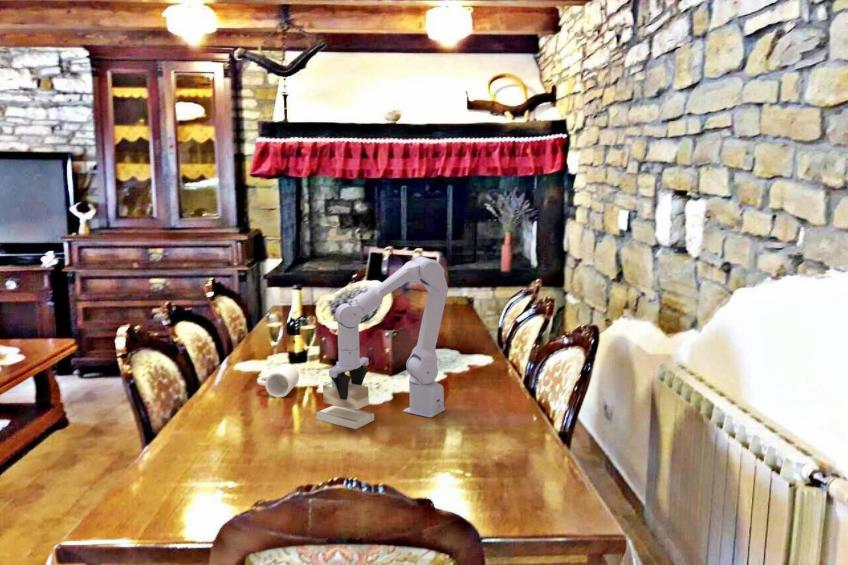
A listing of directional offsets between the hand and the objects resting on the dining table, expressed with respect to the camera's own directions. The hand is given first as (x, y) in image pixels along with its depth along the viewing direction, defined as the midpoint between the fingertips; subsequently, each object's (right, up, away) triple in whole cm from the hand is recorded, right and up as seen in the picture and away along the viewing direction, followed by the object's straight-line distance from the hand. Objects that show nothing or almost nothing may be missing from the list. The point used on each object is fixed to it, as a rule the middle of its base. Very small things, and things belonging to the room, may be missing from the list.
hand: (350, 396), depth 195 cm
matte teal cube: (-3, +3, +1) cm, 4 cm away
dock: (-2, -7, +2) cm, 7 cm away
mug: (-26, -3, +27) cm, 38 cm away
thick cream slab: (-1, -2, +1) cm, 3 cm away
